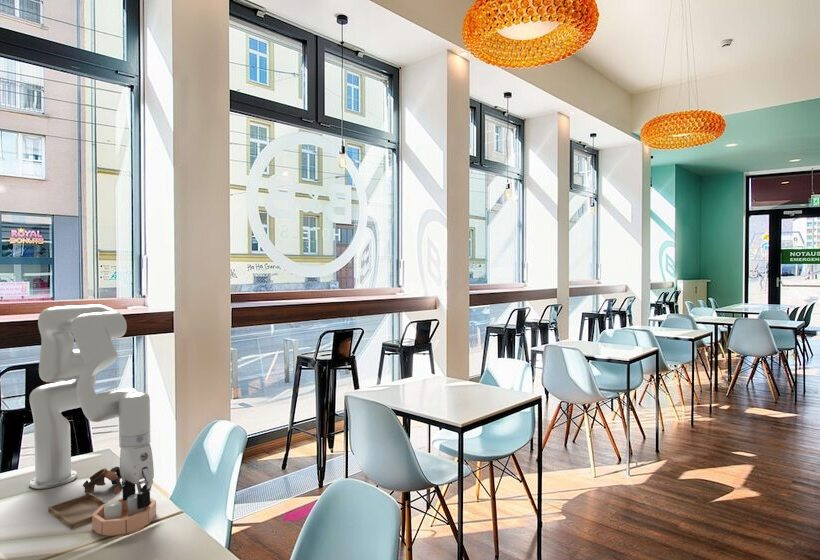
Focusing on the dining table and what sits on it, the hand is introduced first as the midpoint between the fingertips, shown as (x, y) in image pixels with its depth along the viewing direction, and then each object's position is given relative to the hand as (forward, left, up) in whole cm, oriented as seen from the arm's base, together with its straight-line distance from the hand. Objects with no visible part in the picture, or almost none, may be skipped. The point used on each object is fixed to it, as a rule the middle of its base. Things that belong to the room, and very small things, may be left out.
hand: (136, 502), depth 138 cm
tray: (-15, -7, -5) cm, 18 cm away
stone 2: (0, 0, -4) cm, 4 cm away
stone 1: (0, -6, -4) cm, 7 cm away
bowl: (0, -3, -5) cm, 6 cm away
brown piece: (-25, +3, -5) cm, 26 cm away
